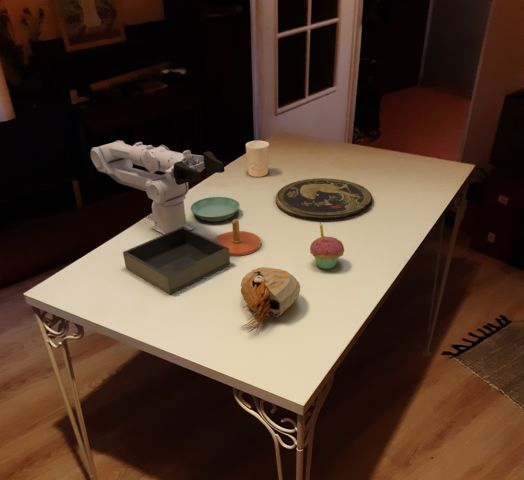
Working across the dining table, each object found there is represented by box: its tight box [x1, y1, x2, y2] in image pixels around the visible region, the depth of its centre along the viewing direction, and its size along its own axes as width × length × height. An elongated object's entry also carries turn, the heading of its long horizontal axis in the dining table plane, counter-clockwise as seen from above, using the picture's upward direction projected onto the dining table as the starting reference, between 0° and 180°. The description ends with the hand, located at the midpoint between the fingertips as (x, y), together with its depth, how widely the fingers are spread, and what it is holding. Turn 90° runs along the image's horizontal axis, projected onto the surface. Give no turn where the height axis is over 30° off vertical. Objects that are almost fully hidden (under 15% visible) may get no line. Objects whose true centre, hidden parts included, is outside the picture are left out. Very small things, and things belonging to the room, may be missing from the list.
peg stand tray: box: [122, 227, 231, 295], centre depth 144 cm, size 19×20×5 cm
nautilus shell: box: [240, 266, 301, 334], centre depth 126 cm, size 8×22×15 cm
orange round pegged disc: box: [213, 218, 262, 257], centre depth 152 cm, size 13×13×7 cm
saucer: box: [189, 196, 241, 223], centre depth 169 cm, size 15×15×3 cm
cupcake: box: [309, 221, 345, 270], centre depth 141 cm, size 9×8×12 cm
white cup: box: [245, 140, 270, 178], centre depth 192 cm, size 8×8×10 cm
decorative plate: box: [275, 177, 374, 222], centre depth 175 cm, size 30×2×30 cm
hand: (211, 172), depth 138 cm, fingers open, 7 cm apart
